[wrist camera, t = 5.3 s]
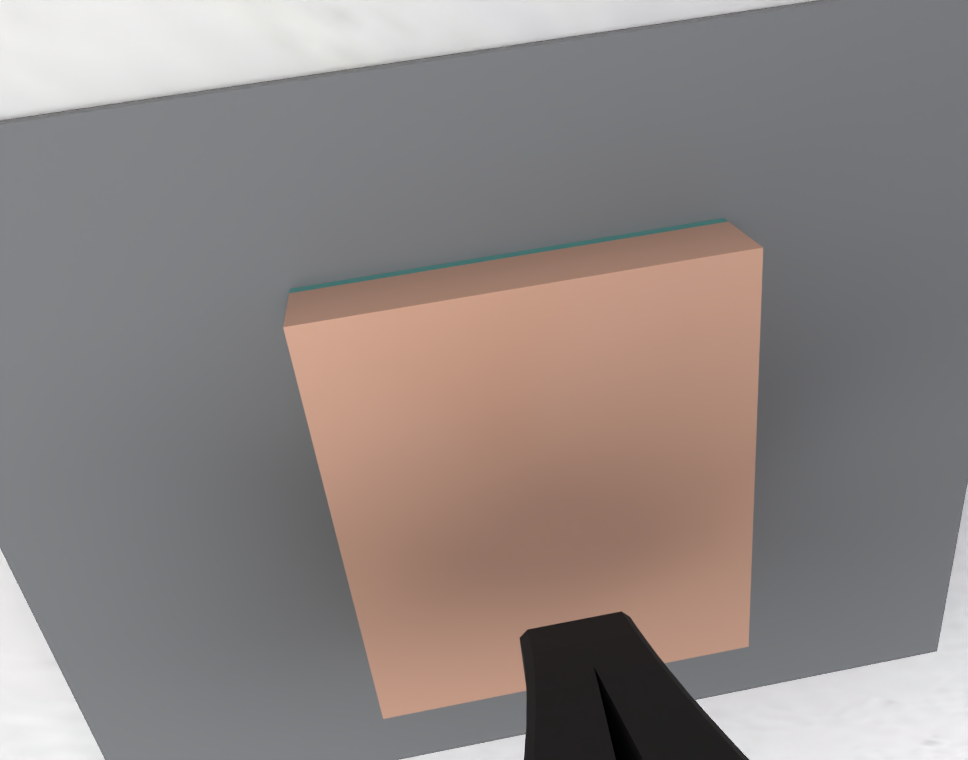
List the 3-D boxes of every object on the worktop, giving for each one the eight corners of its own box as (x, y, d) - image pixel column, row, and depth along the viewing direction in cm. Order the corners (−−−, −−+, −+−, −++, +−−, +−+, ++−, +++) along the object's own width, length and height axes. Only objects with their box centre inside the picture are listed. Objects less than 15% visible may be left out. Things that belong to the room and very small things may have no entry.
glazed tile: (289, 288, 13) (723, 218, 14) (380, 658, 17) (718, 593, 17) (282, 327, 12) (763, 247, 12) (383, 718, 16) (748, 646, 16)
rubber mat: (1041, -33, 13) (1060, -31, 13) (926, 638, 20) (936, 651, 19) (-180, 147, 12) (-196, 153, 11) (136, 796, 18) (131, 813, 18)
